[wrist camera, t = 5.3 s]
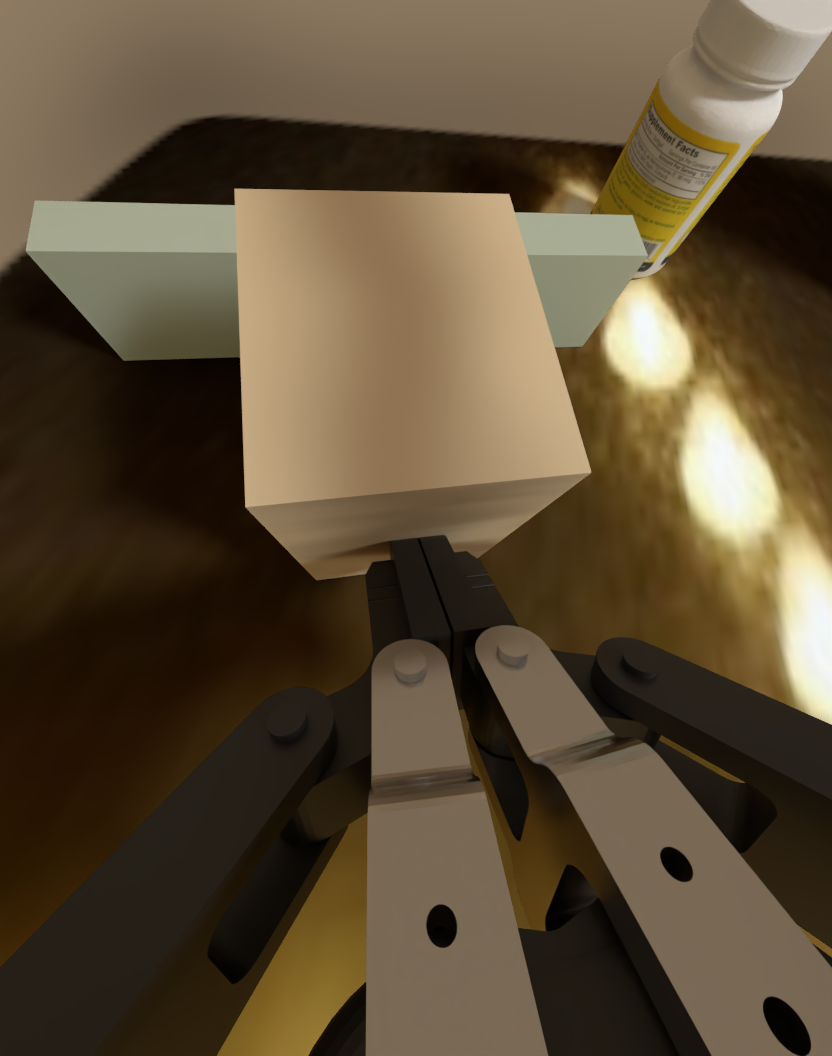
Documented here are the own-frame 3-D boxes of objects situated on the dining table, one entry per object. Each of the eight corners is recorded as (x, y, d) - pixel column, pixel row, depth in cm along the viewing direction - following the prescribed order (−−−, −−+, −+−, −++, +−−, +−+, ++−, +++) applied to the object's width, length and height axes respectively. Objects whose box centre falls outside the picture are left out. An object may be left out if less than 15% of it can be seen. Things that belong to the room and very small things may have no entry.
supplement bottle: (636, 209, 21) (796, -50, 13) (679, 272, 20) (880, 34, 12) (564, 222, 20) (690, -48, 12) (605, 289, 19) (772, 42, 11)
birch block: (444, 401, 16) (508, 194, 9) (475, 559, 14) (591, 472, 7) (302, 410, 15) (234, 188, 8) (316, 580, 14) (245, 507, 6)
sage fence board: (572, 312, 19) (632, 215, 14) (582, 346, 18) (648, 255, 14) (126, 320, 16) (35, 200, 11) (123, 360, 15) (25, 251, 11)
